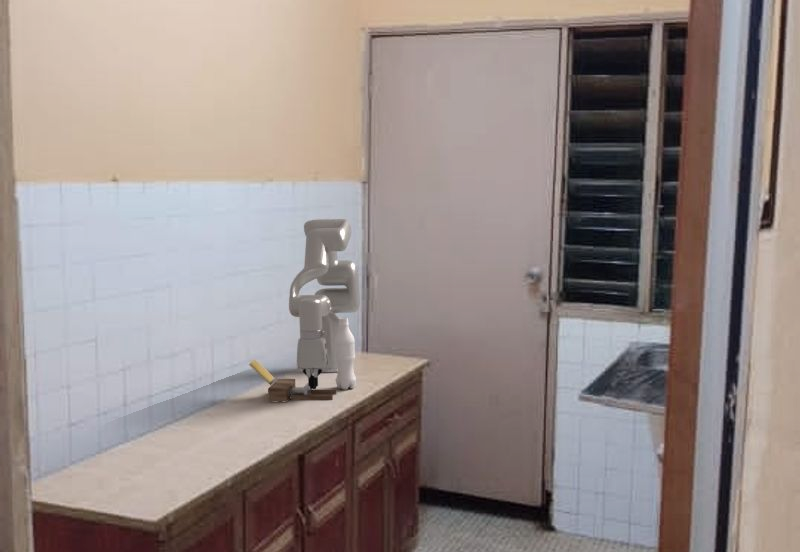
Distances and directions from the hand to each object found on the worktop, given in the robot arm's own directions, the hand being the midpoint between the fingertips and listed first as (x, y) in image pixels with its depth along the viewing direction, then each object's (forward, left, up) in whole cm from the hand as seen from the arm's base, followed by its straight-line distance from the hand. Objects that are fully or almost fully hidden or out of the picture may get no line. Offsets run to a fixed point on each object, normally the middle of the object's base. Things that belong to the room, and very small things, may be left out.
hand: (313, 388), depth 289 cm
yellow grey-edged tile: (0, -18, +5) cm, 18 cm away
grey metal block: (0, -8, -3) cm, 8 cm away
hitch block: (0, -3, -3) cm, 5 cm away
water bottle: (-12, +9, -3) cm, 16 cm away
